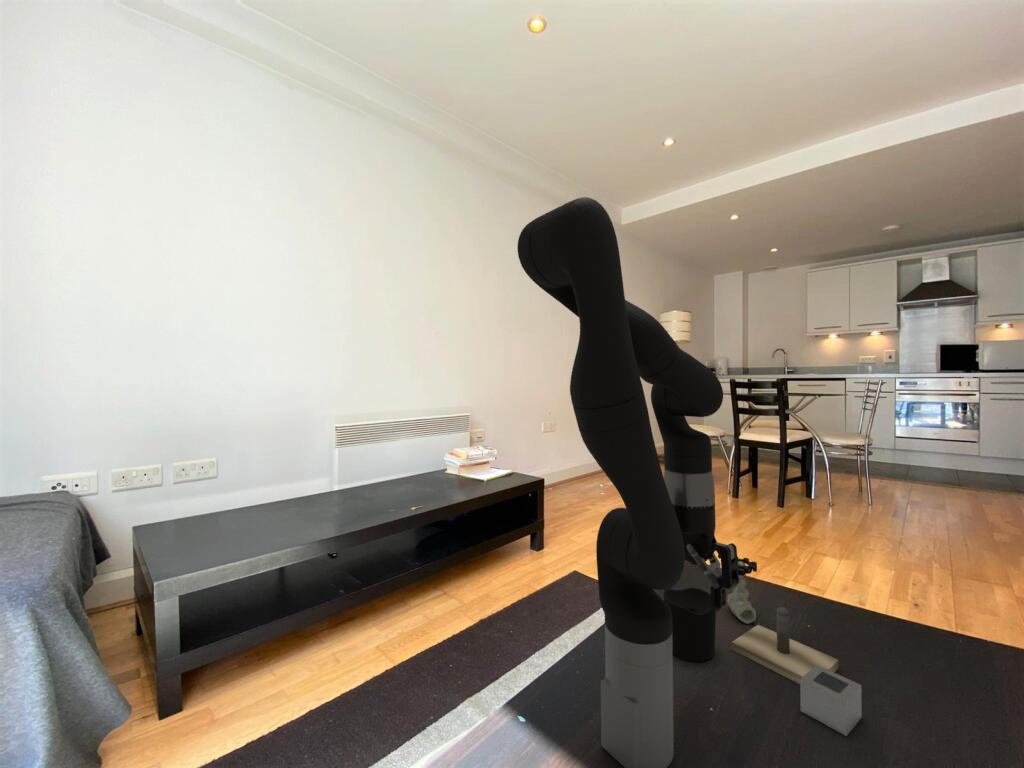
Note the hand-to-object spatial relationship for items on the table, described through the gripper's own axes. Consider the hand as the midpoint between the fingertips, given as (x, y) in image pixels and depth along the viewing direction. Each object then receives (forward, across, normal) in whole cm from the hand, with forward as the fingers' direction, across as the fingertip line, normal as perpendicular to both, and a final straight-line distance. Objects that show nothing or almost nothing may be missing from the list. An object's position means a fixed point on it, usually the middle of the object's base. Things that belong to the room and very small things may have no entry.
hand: (691, 597), depth 70 cm
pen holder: (+18, -9, +12) cm, 23 cm away
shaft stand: (+18, +3, +23) cm, 29 cm away
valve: (+18, -9, +31) cm, 37 cm away
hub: (+18, +14, +15) cm, 27 cm away
